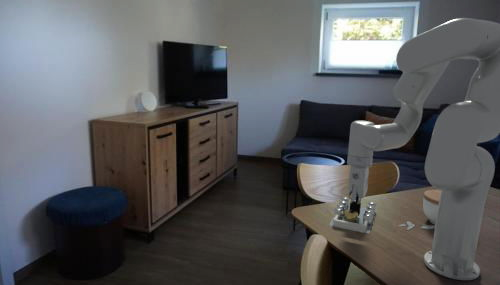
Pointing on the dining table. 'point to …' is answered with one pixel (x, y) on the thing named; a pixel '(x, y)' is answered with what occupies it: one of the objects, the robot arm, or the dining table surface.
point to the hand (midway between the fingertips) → (354, 214)
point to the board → (353, 226)
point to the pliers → (414, 225)
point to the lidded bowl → (431, 204)
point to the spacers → (345, 203)
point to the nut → (351, 216)
